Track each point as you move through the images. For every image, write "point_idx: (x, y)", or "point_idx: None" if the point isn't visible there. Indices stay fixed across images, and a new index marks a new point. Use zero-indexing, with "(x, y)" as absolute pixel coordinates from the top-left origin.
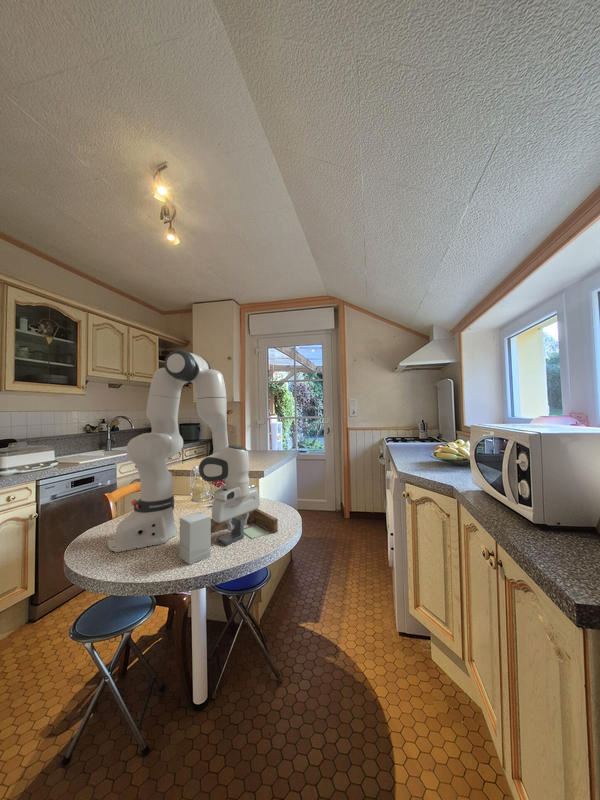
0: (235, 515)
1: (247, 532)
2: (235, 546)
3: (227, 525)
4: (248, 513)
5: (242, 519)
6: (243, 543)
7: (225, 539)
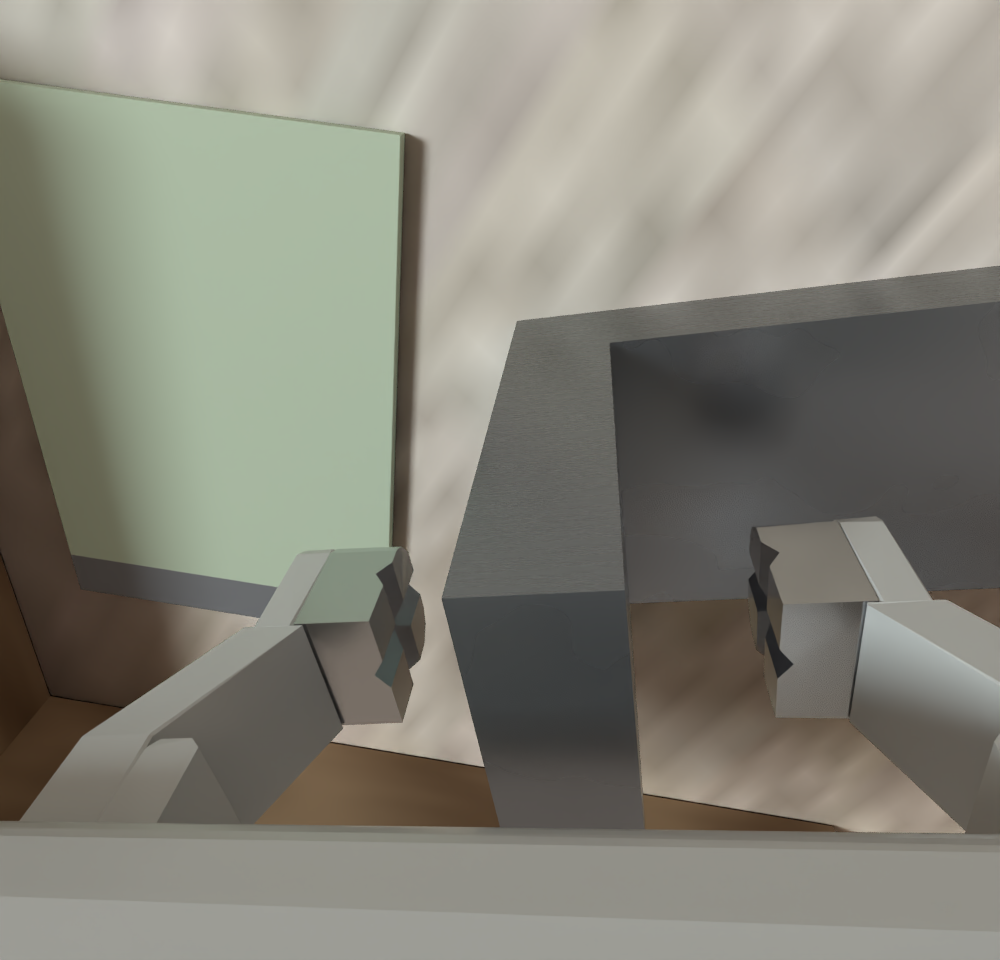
0: (985, 914)
1: (333, 456)
2: (944, 76)
3: (497, 819)
4: (81, 776)
5: (511, 593)
6: (698, 73)
7: (985, 424)
